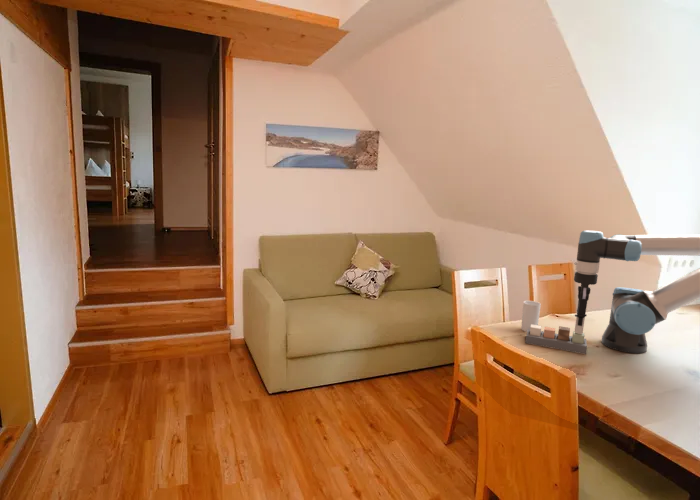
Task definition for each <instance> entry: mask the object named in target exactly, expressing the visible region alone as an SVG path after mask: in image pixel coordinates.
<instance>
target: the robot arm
mask: <svg viewBox="0 0 700 500" xmlns="http://www.w3.org/2000/svg"><path fill="white" fill-rule="evenodd" d="M577 245H578V246H577V255H576V261H574V266H575V272H574V276H573V277H574V278H573V281H574V282H575V283H577V284H580V286H579V285H578V287H577V293H578V294H577V299H578V301H577V309H576V314H574V317H575V318H576V319H575V324H574V331H575V333H578V334H583V333H584V326H585V318H586V317H587V314H586V313H587V306H588V301H589V299H590V298H589V297H590V294H591V287H589V286H590V285H591V286H594V285H597V283H598V276H599V275H598V273H599V270H600V264H601V263H600V262H601V259H607V260H609V259H610V260H616V261H617V260H619V261H625V262H638V261H640V259H641V256H687V257H688V256H694V257H695V256H697V257H698V256H700V234H634V235H633V234H630V235H629V234H628V235H627V234H626V235H625V234H624V235H623V234H620V233H619V234H614V235H612V236H610V237H605V236H604V233H603V232H602V231H600V230H599V231H598V230H582V231H581V232H580V233H579V237H578V243H577ZM697 300H700V267H698V268H697V269H695V270H693V271H690V272H688V273H687V274H684V275H682V276H681V277H678V278H676V279H674V280H672V281H670V282H668V283H666V284H664V285H662V286H660V287H658V288H656V289H654V290H652V291H651V290H650V291H649V290H646V289H644V290H643V289H638V288H632V287H631V288H630V287H618V286H617V287H615V288H614V289H613V292H612V300H611V308H610V314H609V315H610V316H609V322H608V324H607V326H606V329H605V330H604V332H603V334H602V336H601V344H602V345H603V346H606V347H608V348H610V349H613V350H616V351H620V352H624V353H631V354H643V353H646V352H647V351H648V342H647V337H646V334H648V333H649V332H651V330H653V329H654V327H655V326H656V325H657V324H660V323H661V322H664V321H665V320H667V317H668V315H669V314H670V313H671V312H673V311H676V310H678V309H680V308H683V307H684V306H687V305H689V304H691V303H693V302H695V301H697Z"/></svg>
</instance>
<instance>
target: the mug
mask: <svg viewBox="0 0 700 500" xmlns="http://www.w3.org/2000/svg"><path fill="white" fill-rule="evenodd" d="M541 305H542V304H541V302H539V301H534V300H523V304H522V316H521V325H520V326H521V327H520V328H521V329H520V330H522V331H523V332H526V333H527V331H528V329H530V327H531V324H532V325H538V326H539V321H540V320H539V319H540V312H541Z"/></svg>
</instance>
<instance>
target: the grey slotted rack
mask: <svg viewBox="0 0 700 500" xmlns="http://www.w3.org/2000/svg"><path fill="white" fill-rule="evenodd" d="M572 336H573V335H569V341H567V340H561V339H558V333H555V336H554V339H553V338H547V337H544V330H543V331H542V330H541V335H540V336H536V335H530V329H528V331H527V332H526V335H525V344H529V345H534V346H540V347H546V348H550V349H555V350H562V351H568V352H573V353H577V354H583V355H587V349H588V343H587V338H585V337H584V344H581V343H575V342H572Z"/></svg>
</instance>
